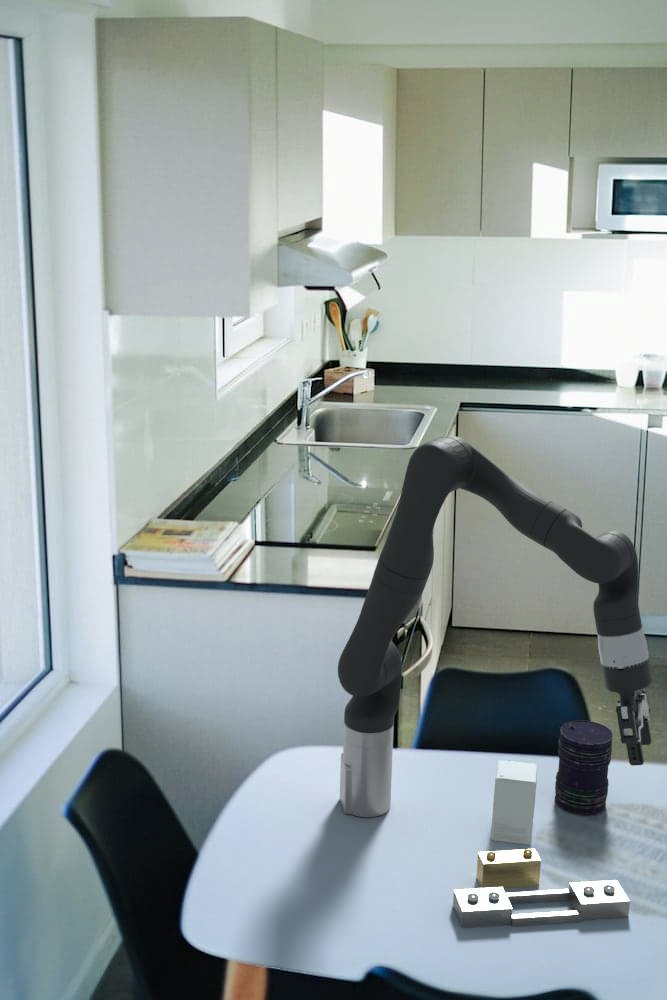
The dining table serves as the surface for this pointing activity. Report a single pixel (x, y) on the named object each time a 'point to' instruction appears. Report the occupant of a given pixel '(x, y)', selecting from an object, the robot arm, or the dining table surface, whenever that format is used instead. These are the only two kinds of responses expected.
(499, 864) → the link
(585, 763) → the dark purple cylinder
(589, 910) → the chain end
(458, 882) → the dining table surface
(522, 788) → the supplement box
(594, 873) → the dining table surface
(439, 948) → the dining table surface
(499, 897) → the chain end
